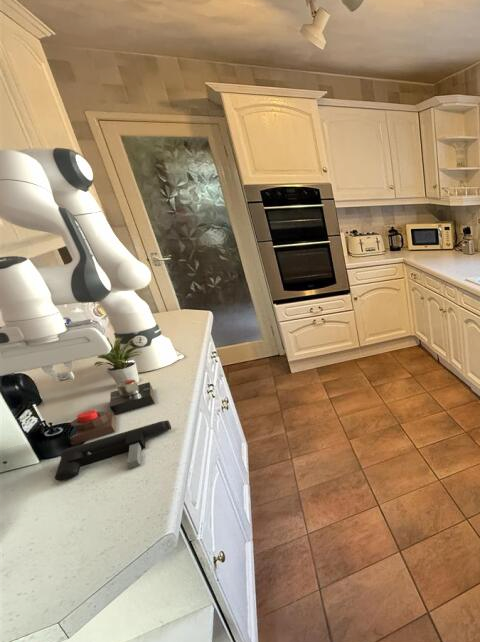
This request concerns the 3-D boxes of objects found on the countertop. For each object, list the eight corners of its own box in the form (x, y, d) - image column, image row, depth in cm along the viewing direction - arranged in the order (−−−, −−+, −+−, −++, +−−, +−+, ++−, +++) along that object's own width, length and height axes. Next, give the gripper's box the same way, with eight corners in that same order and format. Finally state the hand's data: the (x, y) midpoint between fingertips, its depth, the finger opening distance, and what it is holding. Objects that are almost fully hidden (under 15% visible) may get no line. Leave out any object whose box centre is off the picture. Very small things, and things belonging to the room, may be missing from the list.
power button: (80, 419, 103) (77, 413, 103) (99, 414, 106) (96, 408, 105) (78, 424, 101) (75, 419, 100) (98, 419, 103) (95, 413, 102)
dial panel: (115, 400, 120) (110, 391, 119) (153, 390, 125) (149, 381, 124) (114, 415, 112) (109, 406, 110) (154, 404, 117) (150, 394, 116)
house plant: (119, 397, 122) (95, 348, 115) (85, 394, 125) (59, 346, 118) (164, 376, 135) (145, 331, 128) (133, 374, 137) (112, 330, 131)
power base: (76, 429, 106) (68, 416, 104) (116, 417, 110) (109, 405, 109) (72, 445, 99) (64, 432, 97) (115, 432, 104) (108, 419, 102)
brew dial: (119, 398, 114) (113, 387, 113) (122, 392, 118) (116, 381, 116) (139, 394, 117) (133, 382, 115) (141, 388, 120) (136, 377, 119)
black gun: (168, 446, 93) (167, 415, 104) (45, 486, 81) (59, 446, 93) (173, 457, 94) (172, 425, 105) (54, 497, 83) (66, 457, 94)
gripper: (100, 315, 101) (122, 363, 107) (-25, 335, 89) (7, 389, 94) (98, 320, 97) (121, 370, 102) (-33, 342, 85) (1, 398, 90)
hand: (65, 379), depth 98 cm, fingers closed
